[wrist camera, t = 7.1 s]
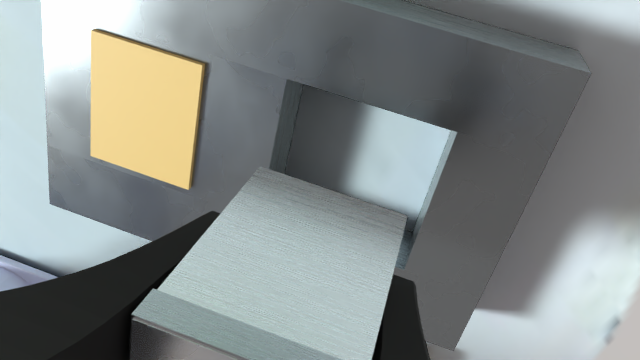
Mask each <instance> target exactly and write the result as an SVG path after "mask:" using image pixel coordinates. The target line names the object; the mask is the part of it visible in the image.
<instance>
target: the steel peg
mask: <svg viewBox="0 0 640 360" xmlns="http://www.w3.org/2000/svg"><path fill="white" fill-rule="evenodd" d="M407 217H408V216H407V215H404V214H401V213H398V212H395V211H392V210H389V209H386V208H383V207H380V206H377V205H374V204H371V203H368V202H365V201H362V200H359V199H356V198H353V197H351V196H348V195H345V194H342V193H339V192H336V191H333V190H330V189H327V188H324V187H321V186H318V185H315V184H312V183H309V182H306V181H303V180H300V179H297V178H294V177H291V176H288V175H285V174H282V173H279V172H276V171H273V170H270V169H267V168H265V167H262V166H260V167H259V168H258V169H257V171H256V172H255V173H254V174H253V175H252V177H251V178H250V179H249V180H248V181H247V183H246V184H245V185H244V186H243V187H242V189H241V190H240V191H239V192H238V193H237V195H236V196H235V197H234V198H233V199H232V201H231V202H230V203H229V204H228V205H227V207H226V208H225V209H224V210H223V211H222V213H221V214H220V215H219V216H218V217H217V219H216V220H215V221H214V222H213V223H212V224H211V226H210V227H209V228H208V229H207V230H206V232H205V233H204V234H203V235H202V236H201V238H200V239H199V240H198V241H197V242H196V244H195V245H194V246H193V247H192V248H191V250H190V251H189V252H188V253H187V254H186V256H185V257H184V258H183V259H182V260H181V262H180V263H179V264H178V265H177V266H176V268H175V269H174V270H173V271H172V272H171V274H170V275H169V276H168V277H167V278H166V280H165V281H164V282H163V283H162V284H161V286H160V287H159V288H158V289H157V290H156V289H154V288H153V289H152V290H151V292H150V293H149V294H148V295H147V296H146V297H145V299H144V300H143V301H142V302H141V303H140V305H139V306H138V307H137V308H136V309H135V310H134V312H133V313H132V314H131V330H130V348H129V360H372V356H373V352H374V348H375V344H376V340H377V336H378V332H379V328H380V324H381V320H382V316H383V312H384V308H385V304H386V300H387V296H388V292H389V288H390V284H391V280H392V276H393V272H394V268H395V264H396V260H397V256H398V252H399V248H400V245H401V241H402V237H403V233H404V229H405V225H406V221H407Z"/></svg>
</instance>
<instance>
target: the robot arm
mask: <svg viewBox="0 0 640 360" xmlns="http://www.w3.org/2000/svg"><path fill="white" fill-rule="evenodd" d="M220 214H221V213H218V212H215V211H210V212H208V213H206V214H204V215H202V216H200V217H198V218H196V219H195V220H193V221H191V222H189V223H187V224H185V225H183V226H182V227H180V228H178V229H176V230H174V231H172V232H170V233H168V234H166V235H164V236H162V237H160V238H158V239H156V240H154V241H152V242H150V243H148V244H146V245H144V246H142V247H140V248H137V249H135V250H133V251H131V252H128V253H126V254H124V255H122V256H119V257H117V258H115V259H112V260H110V261H107V262H105V263H102V264H99V265H96V266H94V267H91V268H88V269H85V270H82V271H79V272H76V273H73V274H69V275H66V276H62V277H56V276H54V275H51V274H49V273H46V272H43V271H41V270H38V269H35V268H33V267H30V266H28V265H25V264H22V263H20V262H17V261H15V260H12V259H9V258H7V257H4V256H1V255H0V360H129V348H130V330H131V314H132V313H133V312H134V310H135V309H136V308H137V307H138V306H139V305H140V303H141V302H142V301H143V300H144V299H145V297H146V296H147V295H148V294H149V293H150V292H151V290H152V289H153V288H154V289H156V290H157V289H158V288H159V287H160V286H161V284H162V283H163V282H164V281H165V280H166V278H167V277H168V276H169V275H170V274H171V272H172V271H173V270H174V269H175V268H176V266H177V265H178V264H179V263H180V262H181V260H182V259H183V258H184V257H185V256H186V254H187V253H188V252H189V251H190V250H191V248H192V247H193V246H194V245H195V244H196V242H197V241H198V240H199V239H200V238H201V236H202V235H203V234H204V233H205V232H206V230H207V229H208V228H209V227H210V226H211V224H212V223H213V222H214V221H215V220H216V219H217V217H218V216H219V215H220ZM372 360H430V357H429V353H428V349H427V345H426V341H425V337H424V334H423V329H422V325H421V319H420V314H419V308H418V301H417V291H416V285H415V283H414V281H411V280H408V279H405V278H402V277H400V276H397V275H394V274H393V276H392V280H391V284H390V288H389V292H388V296H387V300H386V304H385V308H384V312H383V316H382V320H381V324H380V328H379V332H378V336H377V340H376V344H375V348H374V352H373V356H372Z"/></svg>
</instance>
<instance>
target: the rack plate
mask: <svg viewBox="0 0 640 360" xmlns="http://www.w3.org/2000/svg"><path fill="white" fill-rule="evenodd" d="M41 5H42V29H43V53H44V77H45V101H46V125H47V149H48V173H49V197H50V204H52V205H54V206H57V207H60V208H62V209H65V210H68V211H71V212H73V213H76V214H79V215H82V216H84V217H87V218H90V219H93V220H95V221H98V222H101V223H104V224H106V225H109V226H112V227H115V228H117V229H120V230H123V231H126V232H128V233H131V234H134V235H137V236H139V237H142V238H145V239H148V240H150V241H154V240H156V239H158V238H160V237H162V236H164V235H166V234H168V233H170V232H172V231H174V230H176V229H178V228H180V227H182V226H183V225H185V224H187V223H189V222H191V221H193V220H195V219H196V218H198V217H200V216H202V215H204V214H206V213H208V212H210V211H215V212H218V213H222V211H223V210H224V209H225V208H226V207H227V205H228V204H229V203H230V202H231V201H232V199H233V198H234V197H235V196H236V195H237V193H238V192H239V191H240V190H241V189H242V187H243V186H244V185H245V184H246V183H247V181H248V180H249V179H250V178H251V177H252V175H253V174H254V173H255V172H256V171H257V169H258V168H259V167H260V166H262V167H265V168H267V169H270V170H273V171H276V172H279V173H282V174H284V172H285V167H286V163H287V158H288V153H289V149H290V144H291V139H292V135H293V130H294V125H295V121H296V116H297V111H298V107H299V102H300V98H301V93H302V88H303V84H305V85H308V86H312V87H315V88H318V89H321V90H324V91H328V92H331V93H334V94H337V95H340V96H343V97H347V98H350V99H353V100H356V101H359V102H363V103H366V104H369V105H372V106H375V107H379V108H382V109H385V110H388V111H391V112H395V113H398V114H401V115H404V116H407V117H411V118H414V119H417V120H420V121H423V122H426V123H430V124H433V125H436V126H439V127H442V128H446V129H449V130H451V132H450V135H449V137H448V140H447V143H446V145H445V148H444V151H443V153H442V156H441V158H440V161H439V164H438V166H437V169H436V172H435V174H434V177H433V180H432V182H431V185H430V187H429V190H428V193H427V195H426V198H425V201H424V203H423V206H422V209H421V211H420V214H419V216H418V219H417V222H416V224H415V227H414V230H413V232H410V231H407V230H404V233H403V237H402V241H401V245H400V248H399V252H398V256H397V260H396V264H395V268H394V272H393V274H394V275H397V276H400V277H402V278H405V279H408V280H411V281H414V283H415V285H416V291H417V301H418V308H419V314H420V319H421V325H422V329H423V334H424V337H425V341H428V342H430V343H433V344H436V345H439V346H441V347H444V348H447V349H449V350H452V351H454V349H455V347H456V345H457V343H458V341H459V339H460V337H461V335H462V333H463V331H464V329H465V327H466V325H467V323H468V321H469V319H470V317H471V315H472V313H473V311H474V309H475V307H476V305H477V303H478V301H479V299H480V297H481V295H482V293H483V291H484V289H485V287H486V285H487V283H488V281H489V279H490V277H491V275H492V273H493V271H494V269H495V267H496V265H497V263H498V261H499V259H500V257H501V255H502V253H503V251H504V248H505V246H506V244H507V242H508V240H509V238H510V236H511V234H512V232H513V230H514V228H515V226H516V224H517V222H518V220H519V218H520V216H521V214H522V212H523V210H524V208H525V206H526V204H527V202H528V200H529V198H530V196H531V194H532V192H533V190H534V188H535V186H536V184H537V182H538V180H539V178H540V176H541V174H542V172H543V170H544V168H545V166H546V164H547V162H548V160H549V158H550V156H551V154H552V152H553V150H554V148H555V146H556V144H557V142H558V140H559V138H560V136H561V134H562V131H563V129H564V127H565V125H566V123H567V121H568V119H569V117H570V115H571V113H572V111H573V109H574V107H575V105H576V103H577V101H578V99H579V97H580V95H581V93H582V91H583V89H584V87H585V85H586V83H587V81H588V79H589V77H590V75H591V72H590V70H589V68H588V67H587V65H586V63H585V61H584V60H583V58H582V56H581V54H580V53H579V51H578V50H575V49H571V48H568V47H564V46H561V45H557V44H554V43H550V42H547V41H543V40H540V39H536V38H533V37H529V36H526V35H522V34H519V33H515V32H512V31H508V30H505V29H501V28H498V27H494V26H491V25H487V24H484V23H480V22H477V21H473V20H470V19H466V18H463V17H459V16H456V15H452V14H449V13H445V12H442V11H438V10H435V9H431V8H428V7H424V6H421V5H417V4H414V3H410V2H407V1H403V0H41Z"/></svg>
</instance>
